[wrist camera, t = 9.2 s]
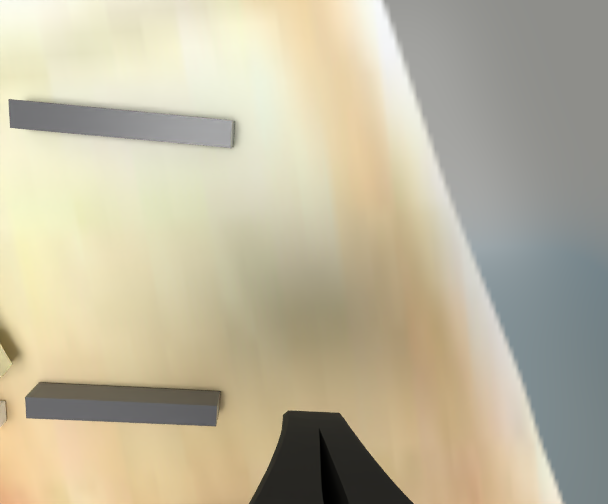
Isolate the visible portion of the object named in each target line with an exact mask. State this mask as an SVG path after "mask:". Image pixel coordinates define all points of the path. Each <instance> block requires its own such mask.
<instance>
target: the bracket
mask: <svg viewBox="0 0 608 504" xmlns="http://www.w3.org/2000/svg"><path fill="white" fill-rule="evenodd" d="M6 421H7V418H6V403H5V401H0V427H1V426H2V425H3V424H4V423H5V422H6Z"/></svg>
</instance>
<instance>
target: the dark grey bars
mask: <svg viewBox="0 0 608 504" xmlns="http://www.w3.org/2000/svg"><path fill="white" fill-rule="evenodd" d="M9 116H10V128H18V129H29V130H40V131H51V132H62V133H73V134H84V135H95V136H106V137H117V138H129V139H140V140H151V141H162V142H173V143H184V144H195V145H206V146H217V147H228V148H232V147H233V144H234V125H235V121H232V120H222V119H211V118H201V117H190V116H180V115H169V114H159V113H148V112H138V111H127V110H117V109H106V108H96V107H85V106H75V105H64V104H54V103H43V102H33V101H23V100H12V99H9ZM25 402H26V418H35V419H58V420H82V421H105V422H129V423H152V424H176V425H200V426H216V424H217V419H218V414H219V405H220V391H203V390H183V389H162V388H142V387H121V386H100V385H80V384H59V383H38V384H37V385H36V386H35V387H34V388H33V390H32V391H31V392H30V393H29V394H28V395H27V396H26V397H25Z"/></svg>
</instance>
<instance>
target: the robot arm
mask: <svg viewBox="0 0 608 504" xmlns="http://www.w3.org/2000/svg"><path fill="white" fill-rule="evenodd" d="M249 504H414V503H413V502H412V501H411V500H410V499H409V498H408V497H407V496H406V495H405V494H404V493H403V492H402V491H401V490H400V489H399V488H398V487H397V486H396V484H395V483H394V482H393V481H392V480H391V479H390V478H389V476H388V475H387V474H386V473H385V472H384V470H383V469H382V468H381V467H380V466H379V464H378V463H377V462H376V461H375V460H374V458H373V457H372V456H371V455H370V453H369V452H368V451H367V449H366V448H365V447H364V445H363V444H362V443H361V441H360V440H359V439H358V437H357V436H356V435H355V433H354V432H353V431H352V429H351V428H350V426H349V425H348V424H347V422H346V421H345V419H344V418H343V417H342V416H341V414H340V413H330V412H308V411H287V412H286V413H285V414H284V415H283V423H282V431H281V435H280V438H279V441H278V444H277V447H276V449H275V452H274V454H273V457H272V459H271V462H270V464H269V466H268V469H267V471H266V473H265V475H264V476H263V478H262V480H261V482H260V484H259V486H258V488H257V490H256V492H255V494H254V496H253V497H252V499H251V501H250V503H249Z"/></svg>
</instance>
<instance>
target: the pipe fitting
mask: <svg viewBox="0 0 608 504" xmlns="http://www.w3.org/2000/svg"><path fill="white" fill-rule="evenodd" d="M11 365H12V363H11V361H10V360H9V358H8V356H7V354H6V353H5V351H4V349H3V348H2V346H1V344H0V378H1V377H2V376H3V375H4V374H5V373H6V372H7V370H8V369H9V368H10V366H11Z"/></svg>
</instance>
